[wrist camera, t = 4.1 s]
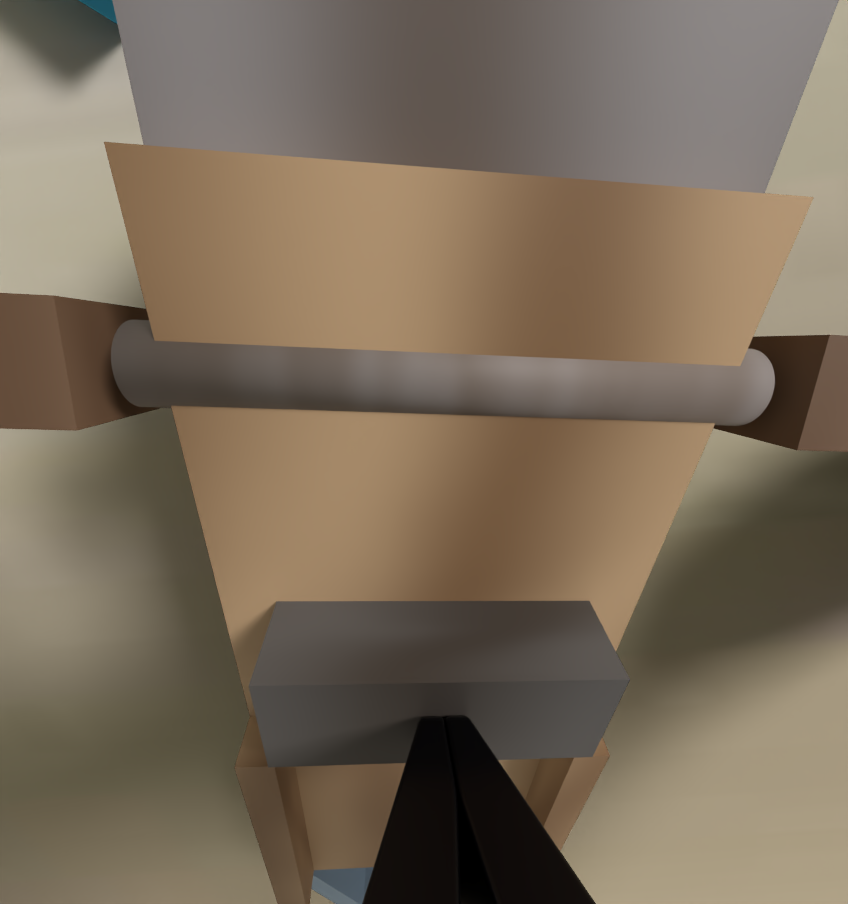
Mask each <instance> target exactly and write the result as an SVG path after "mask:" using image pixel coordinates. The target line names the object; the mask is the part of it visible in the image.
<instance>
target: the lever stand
mask: <svg viewBox="0 0 848 904" xmlns="http://www.w3.org/2000/svg"><path fill="white" fill-rule="evenodd" d="M128 320H149V317H148V313H147V309H142V308H135V307H129V306H122V305H115V304H108V303H101V302H94V301H87V300H80V299H73V298H66V297H59V296H49V295H29V294H10V293H0V428H7V429H43V430H81V429H84V428H88V427H92V426H96V425H99V424H103V423H107V422H110V421H114V420H118V419H122V418H125V417H129V416H133V415H137V414H140V413H144V412H148V411H152V410H155V409H159V408H160V407H138V406H135V405H133V404H132V403H130V402H129V401H128V400H127V399H126V398H125V397H124V396H123V394H122V393H121V391H120V390H119V388H118V386H117V384H116V381H115V378H114V375H113V371H112V364H111V347H112V342H113V338H114V335H115V333H116V331H117V329H118V328H119V327H120V326H121V324H123V323H124V322H126V321H128ZM748 349H755V350H758V351H760V352H762V353H763V354H764V355H765V356H766V357H767V358H768V359H769V360H770V362H771V364H772V367H773V369H774V374H775V386H774V391H773V395H772V398H771V400H770V402H769V404H768V406H767V407H766V409H765V410H764V411H763V413H762V414H761V415H760V416H759V417H757V418H756V419H755V420H753V421H752V422H750V423H748V424H745V425H740V426H724V425H714V428H715V429H718V430H722V431H726V432H730V433H734V434H737V435H741V436H745V437H749V438H753V439H756V440H760V441H764V442H768V443H772V444H776V445H779V446H783V447H787V448H791V449H795V450H808V451H845V452H848V336H840V335H808V336H765V337H753V338H752V340H751V343H750V345H749V347H748Z"/></svg>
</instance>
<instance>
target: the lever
mask: <svg viewBox="0 0 848 904" xmlns="http://www.w3.org/2000/svg"><path fill="white" fill-rule="evenodd" d="M79 1H80V2H82V3H83V4H85V5H87V6H88V7H90V8H92V9H93V10H95V11H96V12H98V13H100V14H101V15H103V16H105V17H106V18H108V19H109V20H111V21H113V22H114V23H116V24H117V20H116V15H115V10H114V6H113V1H112V0H79Z"/></svg>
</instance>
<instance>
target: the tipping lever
mask: <svg viewBox="0 0 848 904" xmlns="http://www.w3.org/2000/svg"><path fill="white" fill-rule="evenodd" d="M112 1H113V6H114V10H115V15H116V20H117V24H118V29H119V33H120V38H121V43H122V47H123V52H124V56H125V61H126V66H127V70H128V75H129V79H130V84H131V89H132V93H133V98H134V102H135V107H136V112H137V116H138V121H139V125H140V130H141V135H142V139H143V144H144V145H137V144H124V143H111V142H104V144H105V148H106V152H107V156H108V160H109V164H110V168H111V172H112V176H113V180H114V183H115V187H116V191H117V195H118V199H119V203H120V207H121V211H122V215H123V219H124V223H125V227H126V231H127V235H128V239H129V243H130V246H131V250H132V254H133V258H134V262H135V266H136V270H137V274H138V278H139V282H140V286H141V290H142V294H143V298H144V302H145V305H146V309H147V313H148V317H149V320H128V321H126V322H124V323H123V324H121V326H120V327H119V328H118V329H117V331H116V333H115V335H114V338H113V342H112V347H111V364H112V371H113V375H114V378H115V381H116V384H117V386H118V388H119V390H120V391H121V393H122V394H123V396H124V397H125V398H126V399H127V400H128V401H129V402H130V403H132V404H133V405H135V406H138V407H160V408H172V412H173V416H174V420H175V423H176V427H177V431H178V435H179V439H180V443H181V447H182V451H183V455H184V459H185V463H186V467H187V471H188V475H189V479H190V483H191V486H192V490H193V494H194V498H195V502H196V506H197V510H198V514H199V518H200V522H201V526H202V530H203V534H204V538H205V542H206V545H207V549H208V553H209V557H210V561H211V565H212V569H213V573H214V577H215V581H216V585H217V589H218V593H219V597H220V601H221V604H222V608H223V612H224V616H225V620H226V624H227V628H228V632H229V636H230V640H231V644H232V648H233V652H234V656H235V660H236V663H237V667H238V671H239V675H240V679H241V683H242V687H243V691H244V695H245V699H246V703H247V707H248V711H249V715H250V718H249V721H248V725H247V728H246V731H245V734H244V738H243V741H242V744H241V747H240V751H239V754H238V757H237V760H236V764H235V767H234V768H235V771H236V775H237V778H238V781H239V784H240V787H241V790H242V793H243V796H244V800H245V803H246V806H247V809H248V812H249V815H250V818H251V821H252V825H253V828H254V831H255V834H256V837H257V840H258V843H259V847H260V850H261V853H262V856H263V859H264V862H265V865H266V868H267V872H268V875H269V878H270V881H271V884H272V887H273V890H274V893H275V897H276V900H277V903H278V904H309V903H310V896H311V888H312V881H313V873H314V870H328V869H348V868H367V867H374V864H375V861H376V857H377V854H378V851H379V848H380V845H381V841H382V838H383V835H384V832H385V828H386V825H387V822H388V819H389V815H390V812H391V809H392V806H393V803H394V799H395V796H396V793H397V790H398V786H399V783H400V780H401V777H402V773H403V770H404V767H405V764H406V760H407V757H408V754H409V751H410V748H411V744H412V741H413V738H414V735H415V731H416V728H417V725H418V722H419V720H420V718H422V717H436V716H440V717H442V718H443V719H445V718H446V717H447V716H467V717H469V718H470V720H471V721H472V722H473V724H474V725H475V727H476V728H477V730H478V731H479V733H480V734H481V736H482V737H483V739H484V740H485V742H486V743H487V745H488V746H489V747H490V749H491V750H492V752H493V753H494V755H495V756H496V758H497V759H498V761H499V762H500V764H501V765H502V767H503V768H504V770H505V771H506V772H507V774H508V775H509V777H510V778H511V780H512V781H513V783H514V784H515V786H516V787H517V789H518V790H519V792H520V793H521V795H522V796H523V797H524V799H525V800H526V802H527V803H528V805H529V806H530V808H531V809H532V811H533V812H534V814H535V815H536V817H537V818H538V820H539V821H540V822H541V824H542V825H543V827H544V828H545V830H546V831H547V833H548V834H549V836H550V837H551V839H552V840H553V842H554V843H555V845H556V846H557V847H558V849H559V850H561V848H562V846H563V845H564V843H565V841H566V839H567V837H568V835H569V833H570V831H571V829H572V827H573V825H574V823H575V822H576V820H577V818H578V816H579V814H580V812H581V810H582V808H583V806H584V804H585V802H586V801H587V799H588V797H589V795H590V793H591V791H592V789H593V787H594V785H595V783H596V781H597V779H598V778H599V776H600V774H601V772H602V770H603V768H604V766H605V764H606V762H607V760H608V758H609V757H610V755H609V752H608V750H607V747H606V745H605V742H604V740H603V737H602V736H603V734H604V732H605V730H606V728H607V726H608V724H609V722H610V720H611V718H612V716H613V714H614V712H615V709H616V707H617V705H618V703H619V701H620V699H621V697H622V695H623V693H624V691H625V689H626V687H627V685H628V683H629V681H630V678H629V676H628V675H627V673H626V671H625V669H624V667H623V665H622V663H621V661H620V659H619V657H618V655H617V653H616V650H617V648H618V646H619V643H620V641H621V639H622V637H623V634H624V632H625V630H626V627H627V625H628V623H629V621H630V618H631V616H632V614H633V611H634V609H635V607H636V604H637V602H638V600H639V598H640V595H641V593H642V591H643V588H644V586H645V584H646V581H647V579H648V577H649V575H650V572H651V570H652V568H653V565H654V563H655V561H656V559H657V556H658V554H659V552H660V549H661V547H662V545H663V542H664V540H665V538H666V536H667V533H668V531H669V529H670V526H671V524H672V522H673V519H674V517H675V515H676V513H677V510H678V508H679V506H680V503H681V501H682V499H683V497H684V494H685V492H686V490H687V487H688V485H689V483H690V480H691V478H692V476H693V474H694V471H695V469H696V467H697V464H698V462H699V460H700V457H701V455H702V453H703V451H704V448H705V446H706V444H707V441H708V439H709V437H710V434H711V432H712V430H713V428H714V425H724V426H740V425H745V424H748V423H750V422H752V421H753V420H755V419H756V418H757V417H759V416H760V415H761V414H762V413H763V411H764V410H765V409H766V407H767V406H768V404H769V402H770V400H771V398H772V395H773V391H774V386H775V374H774V369H773V367H772V364H771V362H770V360H769V359H768V358H767V357H766V356H765V355H764V354H763V353H762V352H760V351H758V350H755V349H748V347H749V345H750V343H751V340H752V338H753V336H754V333H755V331H756V329H757V327H758V324H759V322H760V320H761V317H762V315H763V313H764V310H765V308H766V306H767V304H768V301H769V299H770V297H771V294H772V292H773V290H774V288H775V285H776V283H777V281H778V278H779V276H780V274H781V271H782V269H783V267H784V265H785V262H786V260H787V258H788V255H789V253H790V251H791V248H792V246H793V244H794V242H795V239H796V237H797V235H798V232H799V230H800V228H801V225H802V223H803V221H804V219H805V216H806V214H807V212H808V209H809V207H810V205H811V203H812V200H813V198H814V197H805V196H792V195H779V194H766V193H765V191H766V188H767V185H768V183H769V180H770V178H771V175H772V172H773V170H774V167H775V165H776V162H777V159H778V157H779V154H780V152H781V149H782V146H783V144H784V141H785V139H786V136H787V133H788V131H789V128H790V126H791V123H792V120H793V118H794V115H795V113H796V110H797V107H798V105H799V102H800V100H801V97H802V94H803V92H804V89H805V87H806V84H807V81H808V79H809V76H810V74H811V71H812V68H813V66H814V63H815V61H816V58H817V55H818V53H819V50H820V48H821V45H822V42H823V40H824V37H825V35H826V32H827V29H828V27H829V24H830V22H831V19H832V16H833V14H834V11H835V9H836V6H837V3H838V1H839V0H112Z"/></svg>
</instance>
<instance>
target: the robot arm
mask: <svg viewBox="0 0 848 904" xmlns="http://www.w3.org/2000/svg"><path fill="white" fill-rule="evenodd" d="M362 904H596V903H595V902H594V900H593V899H592V897H591V896H590V895H589V893H588V892H587V890H586V889H585V887H584V886H583V884H582V883H581V881H580V880H579V878H578V877H577V875H576V874H575V872H574V871H573V869H572V868H571V867H570V865H569V864H568V862H567V861H566V859H565V858H564V856H563V855H562V853H561V852H560V850H559V849H558V847H557V846H556V845H555V843H554V842H553V840H552V839H551V837H550V836H549V834H548V833H547V831H546V830H545V828H544V827H543V825H542V824H541V822H540V821H539V820H538V818H537V817H536V815H535V814H534V812H533V811H532V809H531V808H530V806H529V805H528V803H527V802H526V800H525V799H524V797H523V796H522V795H521V793H520V792H519V790H518V789H517V787H516V786H515V784H514V783H513V781H512V780H511V778H510V777H509V775H508V774H507V772H506V771H505V770H504V768H503V767H502V765H501V764H500V762H499V761H498V759H497V758H496V756H495V755H494V753H493V752H492V750H491V749H490V747H489V746H488V745H487V743H486V742H485V740H484V739H483V737H482V736H481V734H480V733H479V731H478V730H477V728H476V727H475V725H474V724H473V722H472V721H471V720H470V718H469V717H467V716H447V717H446V718H445V719H443V718H442V717H440V716H436V717H422V718H420V720H419V722H418V725H417V728H416V731H415V735H414V738H413V741H412V744H411V748H410V751H409V754H408V757H407V760H406V764H405V767H404V770H403V773H402V777H401V780H400V783H399V786H398V790H397V793H396V796H395V799H394V803H393V806H392V809H391V812H390V815H389V819H388V822H387V825H386V828H385V832H384V835H383V838H382V841H381V845H380V848H379V851H378V854H377V857H376V861H375V864H374V867H373V870H372V874H371V877H370V880H369V883H368V887H367V890H366V893H365V896H364V900H363V903H362Z"/></svg>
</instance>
